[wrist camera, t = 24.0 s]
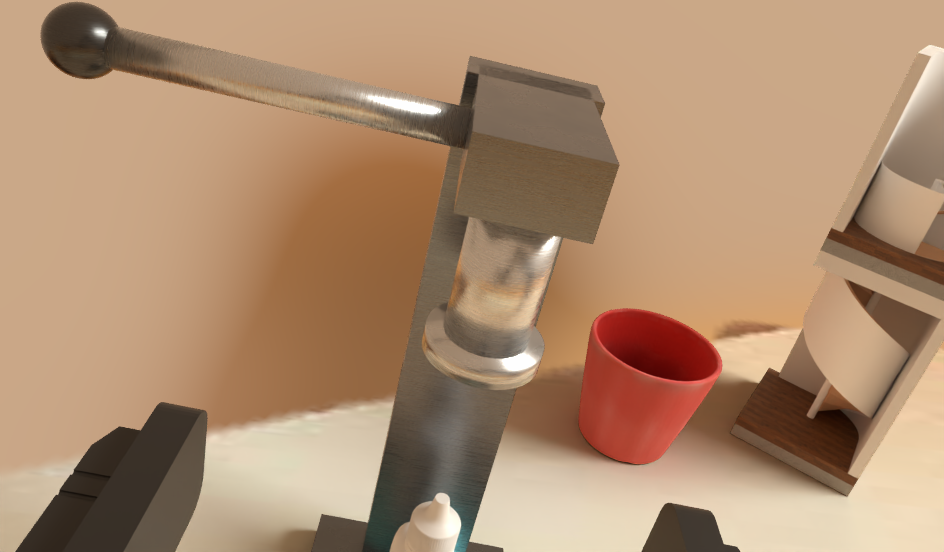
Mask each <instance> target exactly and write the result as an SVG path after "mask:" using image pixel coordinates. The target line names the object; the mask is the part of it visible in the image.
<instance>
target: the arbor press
mask: <svg viewBox="0 0 944 552" xmlns="http://www.w3.org/2000/svg"><path fill="white" fill-rule="evenodd" d="M41 43H42V47H43V49H44V52H45V54H46V56H47V57H48V59H49V60H50V61H51V62H52V64H54V66H55V67H57V68H58V69H59V70H60V71H62V72H64V73H65V74H67V75H70V76H72V77H76V78H81V79H95V78H99V77H102V76H104V75H106V74H108V73H110V72H111V71H112V70H116V71H121V72H125V73H130V74H134V75H139V76H143V77H147V78H152V79H156V80H161V81H166V82H169V83H174V84H179V85H183V86H187V87H192V88H196V89H200V90H205V91H210V92H214V93H218V94H222V95H227V96H232V97H236V98H240V99H245V100H249V101H253V102H258V103H262V104H267V105H271V106H276V107H280V108H284V109H289V110H293V111H298V112H302V113H307V114H311V115H315V116H320V117H325V118H329V119H333V120H338V121H342V122H346V123H351V124H355V125H360V126H364V127H368V128H373V129H377V130H382V131H386V132H391V133H395V134H400V135H404V136H408V137H413V138H417V139H421V140H426V141H431V142H435V143H440V144H444V145H448V146H450V150H449V154H448V158H447V163H446V168H445V172H444V177H443V182H442V186H441V190H440V195H439V200H438V204H437V209H436V213H435V218H434V222H433V227H432V232H431V236H430V241H429V245H428V250H427V254H426V259H425V264H424V268H423V273H422V278H421V282H420V286H419V291H418V296H417V300H416V305H415V309H414V314H413V318H412V323H411V328H410V332H409V337H408V341H407V346H406V351H405V355H404V360H403V364H402V369H401V374H400V378H399V383H398V387H397V392H396V396H395V401H394V405H393V410H392V415H391V419H390V424H389V428H388V433H387V437H386V442H385V447H384V451H383V456H382V460H381V465H380V469H379V474H378V479H377V483H376V488H375V492H374V497H373V501H372V506H371V511H370V515H369V520H368V523H366V522H361V521H356V520H350V519H345V518H340V517H334V516H329V515H324V514H322V515H321V519H320V522H319V526H318V530H317V533H316V537H315V540H314V544H313V547H312V551H311V552H390V548H391V544H392V541H393V539H394V536H395V534H396V532H397V531H398V529H399V528H400V526H402V525H403V524H404V523H407V522H410V519H411V516H412V512H413V510H414V509H415V508H416V507H417V506H418V505H419V504H421V503H424V502H428V501H433V499H434V498H435V496H436V494H438V493H445V494H447V495H448V496H449V498H450V507H452V508H453V509H454V510H455V511H456V512H457V514H458V515H459V518H460V520H461V528H460V532H459V535H458V539H457V542H456V545H455V549H454V552H503V548H499V547H494V546H489V545H483V544H478V543H473V542H469V539H470V536H471V533H472V530H473V527H474V523H475V520H476V517H477V514H478V510H479V507H480V504H481V501H482V498H483V494H484V491H485V488H486V485H487V482H488V478H489V475H490V472H491V469H492V465H493V462H494V459H495V456H496V453H497V449H498V446H499V443H500V440H501V436H502V433H503V430H504V427H505V424H506V420H507V417H508V414H509V411H510V408H511V404H512V401H513V398H514V395H515V391H516V388H517V387H520V386H523V385H525V384H527V383H528V382H530V381H531V380H532V379H533V378H534V377H535V375H536V374H537V371H538V368H539V365H540V362H541V358H542V356H543V352H544V340H543V338H542V336H541V334H540V332H539V331H538V330H537V329H536V324H537V321H538V317H539V314H540V311H541V308H542V305H543V301H544V298H545V295H546V292H547V289H548V285H549V282H550V279H551V275H552V272H553V269H554V266H555V263H556V259H557V256H558V253H559V250H560V246H561V243H562V240H563V238H567V239H572V240H576V241H581V242H585V243H590V244H593V243H594V240H595V237H596V234H597V231H598V228H599V225H600V222H601V219H602V215H603V213H604V210H605V207H606V204H607V201H608V197H609V195H610V192H611V189H612V186H613V183H614V179H615V177H616V174H617V171H618V167H619V162H618V160H617V158H616V155H615V153H614V150H613V148H612V145H611V142H610V140H609V138H608V135H607V133H606V130H605V128H604V125H603V123H602V120H601V115H602V112H603V108H604V105H605V102H604V100H603V98H602V96H601V93H600V91H599V89H598V87H597V86H596V85H591V84H587V83H583V82H579V81H575V80H570V79H566V78H562V77H557V76H553V75H549V74H545V73H541V72H536V71H532V70H528V69H523V68H519V67H515V66H511V65H506V64H502V63H498V62H494V61H490V60H485V59H481V58H477V57H472V56H470V58H469V62H468V67H467V72H466V76H465V81H464V85H463V90H462V95H461V99H460V103H459V105H454V104H450V103H445V102H441V101H436V100H432V99H428V98H424V97H419V96H415V95H411V94H406V93H402V92H398V91H393V90H389V89H385V88H380V87H376V86H372V85H367V84H363V83H358V82H354V81H350V80H346V79H341V78H337V77H332V76H328V75H324V74H320V73H315V72H311V71H307V70H302V69H298V68H294V67H289V66H285V65H281V64H276V63H271V62H267V61H263V60H258V59H254V58H250V57H246V56H241V55H237V54H233V53H228V52H224V51H220V50H215V49H211V48H207V47H202V46H198V45H194V44H189V43H185V42H181V41H176V40H172V39H168V38H163V37H159V36H154V35H150V34H146V33H141V32H137V31H133V30H129V29H124V28H120V27H118V25H117V24H116V22H115V21H114V20H113V19H112V17H111V16H110V15H108V14H107V13H106V12H105V11H103V10H102V9H100V8H98V7H96V6H94V5H91V4H88V3H83V2H70V3H65V4H62V5H60V6H58V7H56V8H55V9H53V10H52V11H51V12H50V13H49V14H48V15H47V17H46V18H45V20H44V22H43V24H42V28H41Z"/></svg>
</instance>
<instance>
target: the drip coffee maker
mask: <svg viewBox="0 0 944 552" xmlns="http://www.w3.org/2000/svg"><path fill="white" fill-rule="evenodd" d="M814 266H816V267H819V268H821V269H823V270H826V273H825V275H824V277H823V279H822V281H821V283H820V285H819V287H818V289H817V291H816V293H815V295H814V297H813V299H812V301H811V302H810V305H809V306H808V309H807V311H806V313H805V316H804V322H803V329H802V331H801V333H800V335H799V337H798V339H797V341H796V343H795V345H794V347H793V348H792V350H791V352H790V354H789V356H788V358H787V360H786V362H785V364H784V366H783V368H782V370H781V372H780V373H779V372H777V371H775V370H773V369H771V368H769V369H768V370H767V372H766V373H765V375H764V377H763V378H762V380H761V381H760V383H759V385H758V386H757V388H756V389H755V391H754V392H753V394H752V396H751V397H750V399H749V400H748V402H747V404H746V405H745V407H744V408H743V410H742V412H741V413H740V415H739V416H738V418H737V420H736V422H735V424H734V427H733V429H732V431H731V434H733V435H734V436H736V437H738V438H740V439H742V440H744V441H745V442H747V443H749V444H751V445H753V446H755V447H757V448H758V449H760V450H762V451H764V452H766V453H768V454H770V455H771V456H773V457H775V458H777V459H779V460H781V461H783V462H784V463H786V464H788V465H790V466H792V467H794V468H796V469H797V470H799V471H801V472H803V473H805V474H807V475H809V476H810V477H812V478H814V479H816V480H818V481H820V482H822V483H823V484H825V485H827V486H829V487H831V488H833V489H835V490H836V491H838V492H840V493H842V494H844V495H846V496H848V495H849V493H850V492H851V490H852V488H853V487H854V485H855V484H856V482H857V480H858V479H859V477H860V475H861V474H862V472H863V471H864V469H865V467H866V466H867V464H868V463H869V461H870V459H871V458H872V456H873V454H874V453H875V451H876V450H877V448H878V446H879V445H880V443H881V442H882V440H883V438H884V437H885V435H886V433H887V432H888V430H889V429H890V427H891V425H892V424H893V422H894V421H895V419H896V417H897V416H898V414H899V412H900V411H901V409H902V408H903V406H904V404H905V403H906V401H907V399H908V398H909V396H910V395H911V393H912V391H913V390H914V388H915V387H916V385H917V383H918V382H919V380H920V378H921V377H922V375H923V374H924V372H925V370H926V369H927V367H928V366H929V364H930V362H931V361H932V359H933V357H934V356H935V354H936V353H937V351H938V349H939V348H940V346H941V344H942V343H943V341H944V49H943V48H940V47H936V46H933V45H929V46H927V47H926V48H924V49H923V50H921V51H920V52H918V54H917V55H916V57H915V59H914V62H913V64H912V66H911V68H910V70H909V72H908V74H907V76H906V78H905V80H904V82H903V84H902V86H901V88H900V90H899V92H898V94H897V96H896V98H895V100H894V102H893V104H892V106H891V108H890V110H889V112H888V114H887V117H886V118H885V120H884V122H883V124H882V126H881V129H880V131H879V133H878V135H877V137H876V139H875V141H874V143H873V145H872V147H871V149H870V151H869V153H868V155H867V157H866V159H865V161H864V163H863V165H862V167H861V169H860V171H859V173H858V175H857V177H856V179H855V181H854V183H853V186H852V187H851V189H850V191H849V193H848V195H847V198H846V200H845V202H844V204H843V205H842V208H841V210H840V212H839V214H838V216H837V218H836V220H835V222H834V224H833V226H832V228H831V230H830V232H829V234H828V236H827V238H826V240H825V242H824V244H823V246H822V248H821V250H820V252H819V254H818V256H817V259H816V260H815V262H814Z"/></svg>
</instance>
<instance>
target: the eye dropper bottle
mask: <svg viewBox="0 0 944 552" xmlns="http://www.w3.org/2000/svg"><path fill="white" fill-rule="evenodd" d="M460 528H461V520H460V518H459V515H458V514H457V512H456V511H455V510H454V509H453V508H452V507H450V498H449V496H448V495H447V494H445V493H438V494H436V496H435V498H434V499H433V501H428V502H424V503H421V504H419V505H418V506H417V507H416V508H415V509H414V510H413V512H412V516H411V519H410V522H407V523H404V524H403V525H402V526H400V528H399V529H398V531H397V532H396V534H395V536H394V539H393V541H392V544H391V548H390V552H454V549H455V545H456V542H457V539H458V535H459V532H460Z"/></svg>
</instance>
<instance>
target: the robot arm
mask: <svg viewBox="0 0 944 552" xmlns="http://www.w3.org/2000/svg"><path fill="white" fill-rule="evenodd" d="M206 432H207V412H206V411H205V410H200V409H195V408H189V407H185V406H179V405H174V404H169V403H164V402H161V403H159V404H158V405H157V406H156V408H155V409H154V411H153V412H152V414H151V416H150V417H149V419H148V420H147V422H146V423H145V425H144V426H143V428H142V430H141V431H140V430H135V429H130V428H125V427H118V428H116V429H115V430H114V431H112V432H110V433H109V434H108V435H106V436H105V437H103V438H102V439H100V440H99V441H97V442H96V443H94V444H93V445H91V447H90V448H89V449H88V451H87V452H86V454H85V455H84V456H83V458H82V459H81V461H80V462H79V463H78V465H77V466H76V468H75V469H74V472H73V474H72V475H70V476H69V477H68V479H67V480H66V482H65V483H64V484H63V486H62V487H61V489H60V491H59V494H58V495H56V496H55V497H54V498H53V500H52V501H51V503H50V504H49V505H48V507H47V508H46V510H45V511H44V512H43V514H42V515H41V517H40V518H39V519H38V521H37V522H36V524H35V525H34V526H33V528H32V529H31V531H30V532H29V533H28V535H27V536H26V537H25V539H24V540H23V542H22V543H21V544H20V546H19V547H18V549H17V550H16V551H15V552H175V551H176V548H177V546H178V544H179V542H180V540H181V538H182V536H183V534H184V532H185V530H186V528H187V526H188V523H189V521H190V519H191V517H192V515H193V513H194V510H195V508H196V505H197V502H198V499H199V495H200V491H201V487H202V482H203V473H204V459H205V446H206ZM642 552H740V550H739V549H738V548H737V547H735V546H730V545H725V544H723V541H722V538H721V535H720V532H719V529H718V526H717V523H716V520H715V517H714V515H713V514H712V512H711V511H709V510H704V509H699V508H694V507H688V506H683V505H678V504H673V503H666V504H665V505H664V506H663V508H662V509H661V511H660V513H659V515H658V517H657V520H656V522H655V524H654V526H653V528H652V530H651V532H650V535H649V537H648V539H647V541H646V543H645V545H644V547H643V550H642Z"/></svg>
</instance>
